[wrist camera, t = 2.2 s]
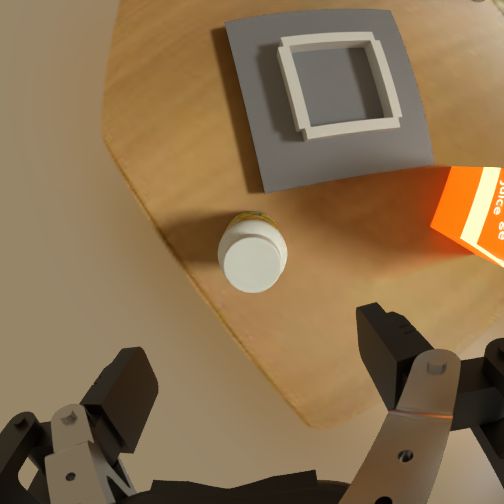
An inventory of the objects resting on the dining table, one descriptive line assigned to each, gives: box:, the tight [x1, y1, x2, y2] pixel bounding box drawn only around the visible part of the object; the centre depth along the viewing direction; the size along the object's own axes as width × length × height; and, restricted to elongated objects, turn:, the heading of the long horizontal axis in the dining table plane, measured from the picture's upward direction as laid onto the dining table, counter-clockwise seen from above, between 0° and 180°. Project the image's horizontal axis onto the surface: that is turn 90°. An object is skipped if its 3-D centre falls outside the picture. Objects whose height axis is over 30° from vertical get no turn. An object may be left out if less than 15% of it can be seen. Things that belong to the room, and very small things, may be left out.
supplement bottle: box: [218, 211, 287, 293], centre depth 25 cm, size 5×5×10 cm
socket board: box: [224, 9, 435, 194], centre depth 24 cm, size 18×18×4 cm
